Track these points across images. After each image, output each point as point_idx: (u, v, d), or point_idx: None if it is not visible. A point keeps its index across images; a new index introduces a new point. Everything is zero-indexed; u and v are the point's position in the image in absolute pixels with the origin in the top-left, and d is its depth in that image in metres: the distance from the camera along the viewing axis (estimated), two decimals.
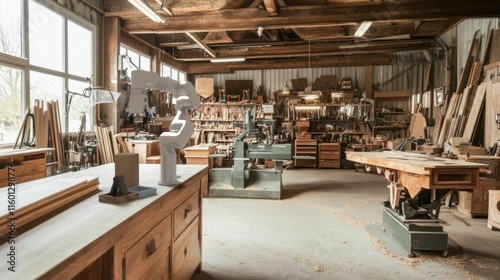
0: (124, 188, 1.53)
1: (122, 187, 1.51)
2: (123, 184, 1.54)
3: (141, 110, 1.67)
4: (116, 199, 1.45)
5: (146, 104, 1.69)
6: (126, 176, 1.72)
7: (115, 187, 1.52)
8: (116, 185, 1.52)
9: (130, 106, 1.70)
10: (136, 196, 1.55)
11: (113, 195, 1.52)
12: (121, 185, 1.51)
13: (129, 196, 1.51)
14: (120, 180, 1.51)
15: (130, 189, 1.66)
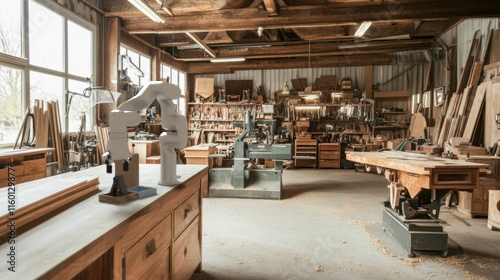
0: (124, 188, 1.53)
1: (122, 187, 1.51)
2: (123, 184, 1.54)
3: (127, 156, 1.54)
4: (116, 199, 1.45)
5: None
6: (126, 176, 1.72)
7: (115, 187, 1.52)
8: (116, 185, 1.52)
9: (115, 152, 1.47)
10: (136, 196, 1.55)
11: (113, 195, 1.52)
12: (121, 185, 1.51)
13: (129, 196, 1.51)
14: (120, 180, 1.51)
15: (130, 189, 1.66)
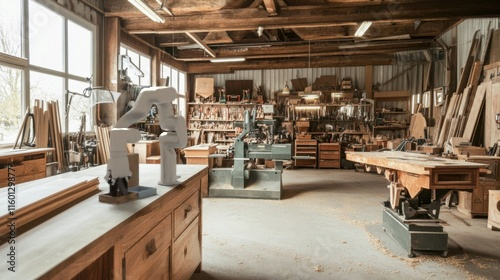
0: (124, 188, 1.53)
1: (122, 187, 1.51)
2: (123, 184, 1.54)
3: (128, 173, 1.55)
4: (116, 199, 1.45)
5: None
6: None
7: (115, 187, 1.52)
8: (116, 185, 1.52)
9: (116, 171, 1.48)
10: (136, 196, 1.55)
11: (113, 195, 1.52)
12: (121, 185, 1.51)
13: (129, 196, 1.51)
14: (120, 180, 1.51)
15: (130, 189, 1.66)
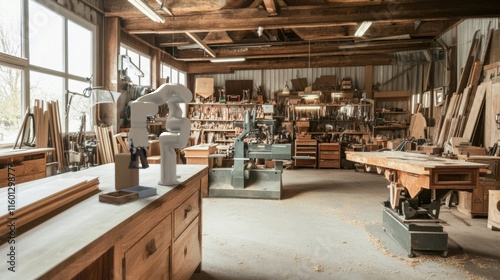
0: (143, 157, 1.64)
1: (142, 156, 1.62)
2: (143, 153, 1.65)
3: (147, 144, 1.66)
4: (116, 199, 1.45)
5: None
6: (126, 176, 1.72)
7: (136, 156, 1.63)
8: (136, 154, 1.63)
9: (137, 140, 1.59)
10: (136, 196, 1.55)
11: (134, 163, 1.63)
12: (141, 154, 1.62)
13: (129, 196, 1.51)
14: (140, 149, 1.62)
15: (130, 189, 1.66)
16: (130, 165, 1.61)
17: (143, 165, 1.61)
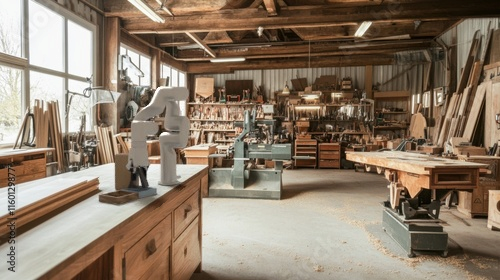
0: (143, 176, 1.64)
1: (142, 175, 1.63)
2: (143, 172, 1.65)
3: (147, 163, 1.66)
4: (116, 199, 1.45)
5: None
6: (126, 176, 1.72)
7: None
8: (136, 173, 1.64)
9: (137, 160, 1.60)
10: (136, 196, 1.55)
11: (133, 183, 1.63)
12: (141, 173, 1.62)
13: (129, 196, 1.51)
14: (140, 168, 1.62)
15: (130, 189, 1.66)
16: (130, 185, 1.61)
17: (143, 185, 1.61)
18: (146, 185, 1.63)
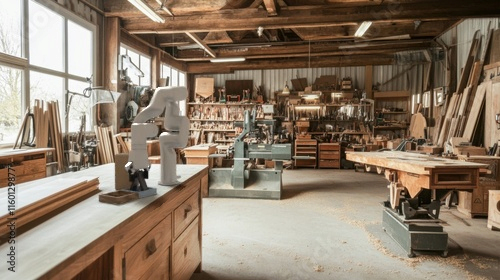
0: (143, 182, 1.64)
1: (142, 181, 1.63)
2: (143, 178, 1.65)
3: (147, 165, 1.67)
4: (116, 199, 1.45)
5: None
6: (126, 176, 1.72)
7: (135, 181, 1.63)
8: (136, 180, 1.64)
9: (137, 162, 1.60)
10: (136, 196, 1.55)
11: (134, 189, 1.64)
12: (141, 180, 1.62)
13: (129, 196, 1.51)
14: (140, 175, 1.62)
15: None
16: None
17: None
18: None
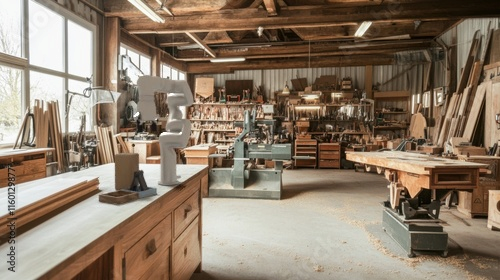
0: (143, 182, 1.64)
1: (142, 181, 1.62)
2: (143, 178, 1.65)
3: (155, 117, 1.68)
4: (116, 199, 1.45)
5: None
6: (126, 176, 1.72)
7: (135, 181, 1.63)
8: (136, 180, 1.64)
9: (145, 113, 1.61)
10: (136, 196, 1.55)
11: (134, 189, 1.64)
12: (141, 180, 1.62)
13: (129, 196, 1.51)
14: (140, 175, 1.62)
15: None
16: None
17: None
18: None
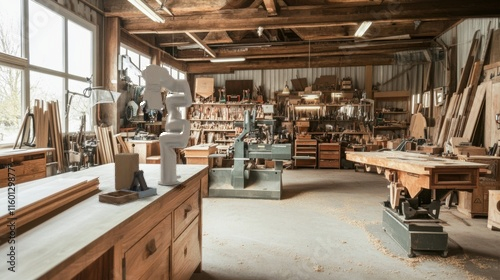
0: (143, 182, 1.64)
1: (142, 181, 1.62)
2: (143, 178, 1.65)
3: (161, 107, 1.70)
4: (116, 199, 1.45)
5: None
6: (126, 176, 1.72)
7: (135, 181, 1.63)
8: (136, 180, 1.64)
9: (151, 102, 1.63)
10: (136, 196, 1.55)
11: (134, 189, 1.64)
12: (141, 180, 1.62)
13: (129, 196, 1.51)
14: (140, 175, 1.62)
15: None
16: None
17: None
18: None
